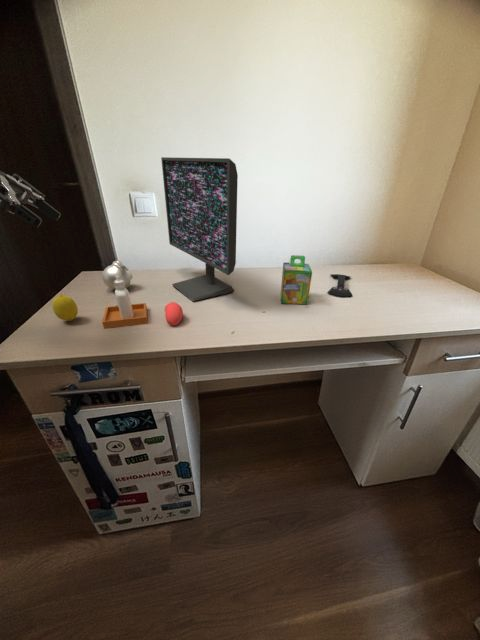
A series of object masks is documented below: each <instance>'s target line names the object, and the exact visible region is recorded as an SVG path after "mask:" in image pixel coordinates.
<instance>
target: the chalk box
mask: <svg viewBox="0 0 480 640" xmlns="http://www.w3.org/2000/svg"><path fill="white" fill-rule="evenodd" d="M295 260H300V262H296V261H295ZM305 262H306V256H305V255H296V254H295V255H290V261H289V262H282V264H283V265H282V275H281V285H280V303H281V304H289V305H290V304H291V305H305V306H306V305H308V302H309V295H310V290H311V289H310V288H311V283H312V277H313V270H312V269H311V266H310V264H309V263H305Z"/></svg>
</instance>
